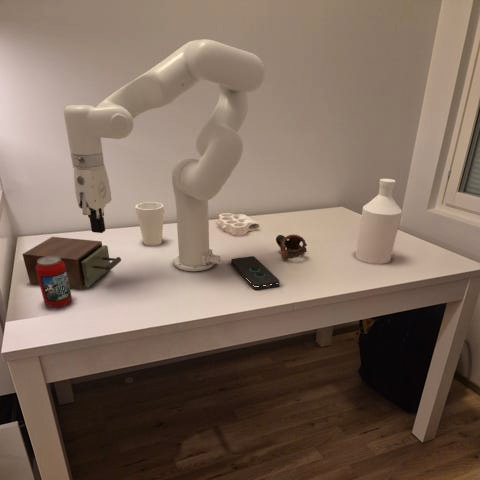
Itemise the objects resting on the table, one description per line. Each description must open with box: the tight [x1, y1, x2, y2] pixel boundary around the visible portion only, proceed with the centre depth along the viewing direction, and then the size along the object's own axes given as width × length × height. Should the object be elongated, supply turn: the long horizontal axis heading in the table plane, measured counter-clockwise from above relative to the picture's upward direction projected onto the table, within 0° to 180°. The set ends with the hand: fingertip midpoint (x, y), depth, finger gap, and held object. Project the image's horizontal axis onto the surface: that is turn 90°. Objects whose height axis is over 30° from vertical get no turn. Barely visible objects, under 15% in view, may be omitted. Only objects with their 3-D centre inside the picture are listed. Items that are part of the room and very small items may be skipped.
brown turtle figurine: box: [275, 234, 308, 261], centre depth 139 cm, size 12×10×8 cm
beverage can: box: [36, 256, 73, 308], centre depth 106 cm, size 7×7×12 cm
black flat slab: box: [230, 255, 280, 291], centre depth 126 cm, size 8×2×20 cm
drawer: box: [78, 244, 122, 287], centre depth 120 cm, size 20×13×7 cm, turn 79°
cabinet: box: [21, 236, 103, 290], centre depth 121 cm, size 16×14×9 cm
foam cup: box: [135, 201, 165, 247], centre depth 145 cm, size 10×9×13 cm
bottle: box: [355, 178, 403, 265], centre depth 134 cm, size 12×12×25 cm
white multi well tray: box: [215, 212, 261, 237], centre depth 163 cm, size 3×18×15 cm
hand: (98, 231), depth 114 cm, fingers closed
